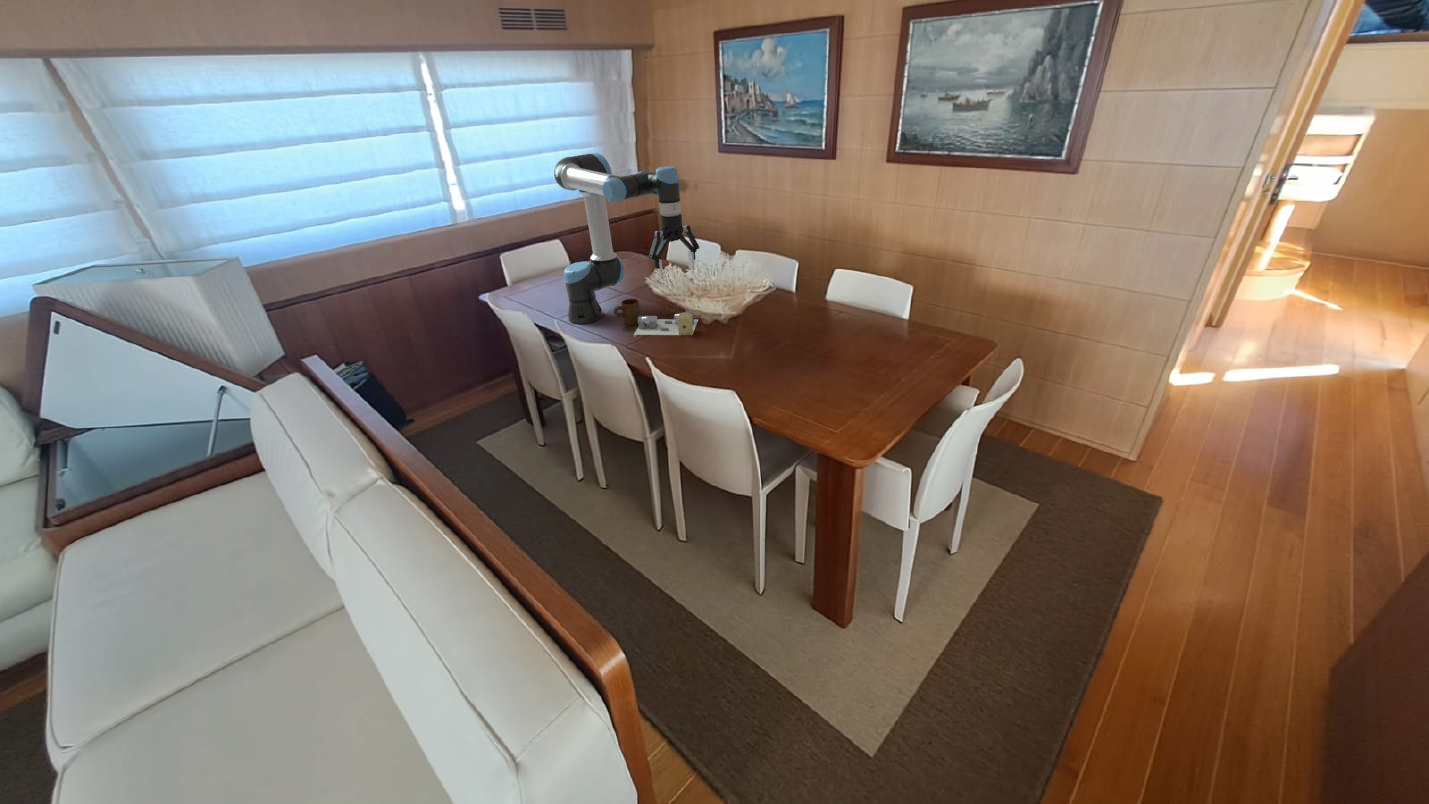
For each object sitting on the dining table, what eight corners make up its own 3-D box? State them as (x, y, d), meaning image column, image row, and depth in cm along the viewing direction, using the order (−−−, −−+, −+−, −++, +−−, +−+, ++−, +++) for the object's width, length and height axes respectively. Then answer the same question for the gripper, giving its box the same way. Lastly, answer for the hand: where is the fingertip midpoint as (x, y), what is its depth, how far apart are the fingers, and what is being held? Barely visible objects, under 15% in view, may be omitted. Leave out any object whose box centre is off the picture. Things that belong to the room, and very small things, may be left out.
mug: (621, 330, 226) (618, 309, 221) (611, 325, 231) (608, 304, 226) (645, 322, 232) (642, 301, 228) (635, 317, 237) (632, 297, 233)
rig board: (634, 337, 219) (633, 332, 218) (643, 321, 233) (642, 316, 232) (692, 337, 216) (692, 332, 215) (698, 322, 230) (698, 317, 228)
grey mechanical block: (638, 328, 223) (636, 318, 221) (641, 324, 227) (639, 314, 225) (656, 329, 222) (654, 318, 220) (658, 324, 226) (657, 314, 224)
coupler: (678, 334, 216) (677, 318, 213) (681, 329, 220) (679, 313, 217) (691, 334, 216) (689, 318, 212) (693, 329, 220) (691, 313, 216)
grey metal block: (677, 326, 223) (676, 316, 221) (674, 323, 227) (673, 312, 224) (694, 323, 225) (694, 313, 223) (690, 319, 229) (690, 309, 227)
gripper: (644, 221, 184) (651, 282, 195) (706, 209, 195) (709, 267, 206) (634, 218, 189) (642, 277, 200) (695, 207, 201) (699, 263, 211)
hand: (676, 272), depth 203 cm, fingers open, 13 cm apart
